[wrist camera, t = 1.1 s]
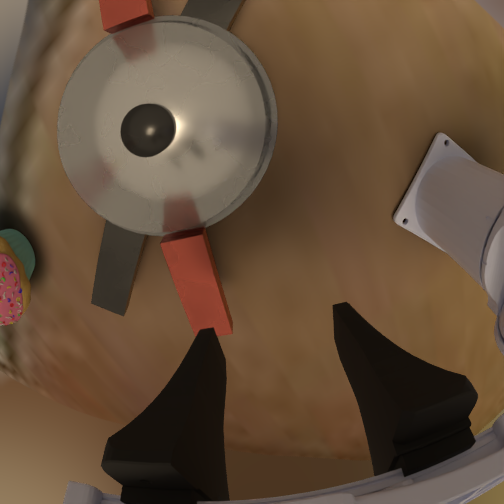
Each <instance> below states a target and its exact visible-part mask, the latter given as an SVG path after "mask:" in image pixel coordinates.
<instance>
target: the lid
mask: <svg viewBox="0 0 504 504" xmlns="http://www.w3.org/2000/svg"><path fill="white" fill-rule="evenodd" d="M99 3H100V10H101V16H102V23H103V28H104V31H107V32H109V33H111V34H114V33H116V32H119V31H121V30H124V29H127V28H129V27H132V26H135V25H138V24H140V23H143V22H146V21H149V20H152V19H155V18H154V13H153V8H152V3H151V0H99ZM265 120H266V116H265V109H264V102H263V98H262V94H261V91H260V88H259V85H258V83H257V81H256V79H255V76H254V74H253V73H252V71H251V69H250V68H249V66H248V65H247V63H246V62H245V61H244V59H243V58H242V57H241V56H240V55H239V54H238V52H237V51H236V50H234V49H233V48H232V47H231V46H230V45H229V44H228V43H226V42H225V41H224V40H222V39H220V38H219V37H217V36H216V35H214V34H212V33H210V32H208V31H205V30H203V29H201V28H198V27H194V26H191V25H187V24H180V23H172V22H165V23H151V24H145V25H141V26H137V27H134V28H131V29H128V30H125V31H123V32H121V33H119V34H117V35H115V36H113V37H111V38H110V39H108V40H107V41H105V42H103V43H102V44H101V45H100V46H98V47H97V48H96V49H95V50H94V51H92V52H91V53H90V55H89V56H88V57H87V58H86V59H85V60H84V61H83V62H82V63H81V65H80V66H79V67H78V69H77V70H76V71H75V73H74V75H73V76H72V78H71V80H70V82H69V84H68V86H67V88H66V90H65V93H64V95H63V98H62V102H61V105H60V109H59V115H58V123H57V139H58V149H59V153H60V157H61V161H62V164H63V167H64V170H65V172H66V175H67V176H68V178H69V180H70V182H71V184H72V186H73V187H74V189H75V190H76V192H77V193H78V194H79V196H80V197H81V198H82V199H83V200H84V201H85V202H86V203H87V204H88V205H89V206H90V207H91V208H92V209H93V210H94V211H96V212H97V213H98V214H100V215H101V216H103V217H104V218H106V219H108V220H110V221H112V222H113V223H115V224H117V225H120V226H123V227H126V228H129V229H133V230H137V231H142V232H152V233H160V232H172V231H179V230H183V229H186V228H190V227H193V226H195V225H198V224H200V223H202V222H205V221H206V220H208V219H210V218H212V217H213V216H215V215H217V214H218V213H219V212H221V211H222V210H223V209H225V208H226V207H227V206H228V205H229V204H230V203H231V202H232V201H233V200H234V199H235V198H236V197H237V196H238V195H239V194H240V193H241V191H242V190H243V189H244V187H245V186H246V185H247V183H248V181H249V180H250V178H251V176H252V175H253V173H254V171H255V169H256V166H257V164H258V162H259V159H260V156H261V152H262V149H263V144H264V138H265ZM160 245H161V248H162V250H163V253H164V256H165V259H166V262H167V264H168V267H169V270H170V273H171V275H172V278H173V281H174V283H175V286H176V289H177V291H178V294H179V297H180V299H181V302H182V304H183V307H184V309H185V312H186V314H187V317H188V319H189V322H190V324H191V327H192V329H193V332H194V334H195V337H196V336H197V334H198V332H199V330H200V329H206V328H212V327H214V329H215V332H216V335H217V336H222V335H228V334H233V321H232V318H231V315H230V311H229V308H228V305H227V301H226V298H225V295H224V291H223V288H222V285H221V281H220V278H219V275H218V271H217V268H216V264H215V261H214V257H213V254H212V250H211V247H210V243H209V240H208V236H207V233H206V229H205V226H203V227H198V228H193V229H188V230H184V231H179V232H175V233H170V234H166V235H164V237H163V239H162V241H161V243H160Z"/></svg>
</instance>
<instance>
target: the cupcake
mask: <svg viewBox="0 0 504 504" xmlns="http://www.w3.org/2000/svg"><path fill="white" fill-rule="evenodd" d="M34 267H35V255H34V251H33V249H32V246H31V244H30V243H29V241H28V240H27V238H26V237H25V236H24V235H23V234H22V233H20V232H19V231H17V230H14V229H5V230H1V231H0V325H1V326H2V325H8V324H12V323H14V322H17V321H18V320H19V319H20V318H21V315H22V314H23V313H24V312H25V311H26V309H27V308H28V306H29V303H30V300H31V297H30V292H31V285H30V282H29V280H30V277H31V275H32V272H33V270H34Z"/></svg>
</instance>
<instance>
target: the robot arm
mask: <svg viewBox="0 0 504 504" xmlns="http://www.w3.org/2000/svg"><path fill="white" fill-rule="evenodd" d="M445 140H446V142H447V143H446V145H444V142H445ZM405 218H406V221H405V222H404V223H403V220H404V219H405ZM393 220H394V222H395V223H396V224H398V225H399V226H401V227H403V228H405V229H407V230H408V231H410V232H412V233H414V234H415V235H417V236H419V237H421V238H422V239H424V240H426V241H427V242H429V243H431V244H432V245H434V246H436V247H437V248H439V249H441V250H442V251H444V252H446V253H447V254H448V255H449V256H450V257H451V258H453V259H454V260H455V261H456V262H457V263H458V264H459V265H460V266H461V267H462V268H463V269H464V270H465V271H466V272H467V273H468V274H469V275H470V276H471V277H472V278H473V279H474V280H475V281H476V282H477V283H478V284H479V285H480V286H481V287H482V288H483V289H484V290H485V291H486V292H487V294H488V306H489V308H490V309H491V310H492V311H493V312H494V313H495V314H496V315H497V319H496V322H495V327H494V335H495V340H496V343H497V346H498V348H499V349H500V351H501V353H502V354H503V355H504V174H502V173H499V172H497V171H495V170H493V169H490V168H488V167H486V166H483V165H481V164H478V163H477V162H476V161H475V160H474V159H473V158H472V157H471V156H470V155H469V154H467V153H466V152H465V151H464V150H463V149H462V148H461V147H460V146H458V145H457V144H456V143H455V142H454V141H453V140H451V139H450V138H449V137H448V136H447V135H445V134H444V133H437V134H436V136H435V138H434V140H433V142H432V144H431V146H430V148H429V150H428V152H427V154H426V156H425V158H424V160H423V162H422V164H421V166H420V168H419V170H418V172H417V174H416V176H415V178H414V180H413V182H412V183H411V185H410V187H409V189H408V191H407V193H406V195H405V196H404V198H403V200H402V202H401V204H400V205H399V207H398V209H397V211H396V212H395V214H394V217H393ZM333 320H334V340H335V343H336V347H337V350H338V354H339V357H340V360H341V363H342V365H343V367H344V370H345V372H346V375H347V377H348V380H349V382H350V384H351V387H352V389H353V392H354V394H355V397H356V399H357V402H358V405H359V409H360V413H361V416H362V420H363V424H364V428H365V432H366V436H367V440H368V445H369V450H370V454H371V459H372V465H373V470H374V475H375V476H374V477H371V478H368V479H364V480H361V481H357V482H353V483H349V484H345V485H341V486H336V487H332V488H327V489H323V490H317V491H312V492H307V493H300V494H294V495H287V496H280V497H272V498H262V499H251V500H237V501H230V500H229V492H228V484H227V474H226V464H225V451H224V432H223V424H224V408H225V395H226V381H227V377H226V359H225V357H224V354H223V351H222V349H221V346H220V343H219V340H218V338H217V335H216V332H215V329H214V327H212V328H206V329H200V330H199V332H198V334H197V336H196V337H195V339H194V341H193V343H192V345H191V347H190V349H189V351H188V352H187V354H186V356H185V358H184V359H183V361H182V363H181V364H180V366H179V368H178V369H177V371H176V372H175V374H174V375H173V377H172V378H171V380H170V381H169V382H168V384H167V385H166V386H165V388H164V389H163V390H162V391H161V393H160V394H159V395H158V396H157V397H156V398H155V400H154V401H153V402H152V403H151V404H150V405H149V406H148V407H147V408H146V409H145V410H144V411H143V412H142V413H141V414H140V415H138V416H137V417H136V418H135V419H134V420H133V421H131V422H130V423H129V424H128V425H126V426H125V427H124V428H122V429H121V430H120V431H118V432H117V433H115V434H114V435H112V436H111V437H109V438H108V441H107V444H106V447H105V451H104V455H103V459H102V464H101V466H102V468H103V470H104V471H105V472H106V473H107V474H108V475H110V476H111V477H112V478H113V479H115V480H116V481H117V482H119V483H120V484H122V485H123V487H122V493H121V496H119V495H112V494H107V493H102V492H101V491H100V490H98V489H97V488H96V487H93V486H91V485H87V484H83V483H78V482H74V481H69V482H68V486H67V490H66V494H65V498H64V502H63V504H466V503H468V502H469V501H471V500H473V499H475V498H476V497H478V496H480V495H481V494H483V493H485V492H486V491H488V490H490V489H491V488H493V487H494V486H496V485H497V484H499V483H501V482H502V481H504V414H502V415H501V416H500V417H499V418H498V419H497V420H496V421H495V422H494V424H493V426H492V427H491V428H489V429H487V430H485V431H483V432H482V433H480V434H478V435H476V436H473V434H472V432H471V430H470V428H469V427H470V426H471V421H470V419H469V418H468V416H469V415H470V413H471V411H472V409H473V408H474V406H475V404H476V402H477V399H478V394H477V392H476V390H475V389H474V387H473V385H472V384H471V382H470V381H469V380H468V379H467V377H466V376H464V375H461V374H457V373H454V372H451V371H447V370H444V369H442V368H439V367H437V366H434V365H432V364H429V363H427V362H425V361H423V360H421V359H419V358H417V357H415V356H413V355H411V354H410V353H408V352H406V351H405V350H403V349H402V348H400V347H399V346H397V345H396V344H394V343H393V342H391V341H390V340H389V339H387V338H386V337H385V336H383V335H382V334H381V333H380V332H379V331H377V330H376V329H375V328H374V327H373V326H372V325H370V324H369V323H368V322H367V321H366V320H365V319H364V318H363V317H362V316H361V315H360V314H359V313H358V312H357V311H356V310H355V309H354V308H353V307H352V306H351V305H350V304H349V303H347V302H343V303H339V304H335V305H333Z"/></svg>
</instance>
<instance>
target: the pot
mask: <svg viewBox="0 0 504 504" xmlns="http://www.w3.org/2000/svg"><path fill="white" fill-rule="evenodd" d="M244 2H245V0H188V2H187V4H186V6H185V8H184V10H183V11H182V13H181V15H180V16H174V15H172V16H157V17H154V18H155V19H152V20H149V21H146V22H143V23H140V24H138V25H135V26H132V27H129V28H127V29H124V30H121V31H119V32H116V33H114V34H110V35H108V36H107V37H105V38H104V39H102V40H101V41H100V42H99V43H98V44H96V45H95V46H94V47H93V48H92V49H91V50H90V51H89V52H88V53H87V54H86V56H85V57H84V58H83V59H82V60H81V62H80V63H79V64H78V66H77V67H76V69H75V70H74V72H73V74H72V75H71V77H70V79H69V81H68V83H67V85H66V88H67V86H68V84H69V82H70V80H71V78H72V76H73V75H74V73H75V71H76V70H77V69H78V67H79V66H80V65H81V63H82V62H83V61H84V60H85V59H86V58H87V57H88V56H89V55H90V53H91V52H92V51H94V50H95V49H96V48H97V47H98V46H100V45H101V44H102V43H103V42H105V41H107V40H108V39H110V38H111V37H113V36H115V35H117V34H119V33H121V32H123V31H125V30H128V29H131V28H134V27H137V26H141V25H145V24H151V23H165V22H172V23H180V24H187V25H191V26H194V27H198V28H201V29H203V30H205V31H208V32H210V33H212V34H214V35H216V36H217V37H219V38H220V39H222V40H224V41H225V42H226V43H228V44H229V45H230V46H231V47H232V48H233V49H234V50H236V51H237V52H238V54H239V55H240V56H241V57H242V58H243V59H244V61H245V62H246V63H247V65H248V66H249V68H250V69H251V71H252V73H253V74H254V76H255V79H256V81H257V83H258V85H259V88H260V91H261V94H262V98H263V102H264V109H265V116H266V120H265V138H264V144H263V149H262V152H261V156H260V159H259V162H258V164H257V166H256V169H255V171H254V173H253V175H252V176H251V178H250V180H249V181H248V183H247V185H246V186H245V187H244V189H243V190H242V191H241V193H240V194H239V195H238V196H237V197H236V198H235V199H234V200H233V201H232V202H231V203H230V204H229V205H228V206H227V207H226V208H225V209H223V210H222V211H221V212H219V213H218V214H217V215H215V216H213V217H212V218H210V219H208V220H206V221H205V222H202V223H200V224H198V225H195V226H193V227H190V228H186V229H183V230H179V231H184V230H188V229H193V228H198V227H203V226H205V228H206V227H208V226H210V225H212V224H215V223H217V222H218V221H220V220H222V219H223V218H225V217H226V216H228V215H229V214H231V213H232V212H233V211H234V210H236V209H237V208H238V207H239V206H240V205H241V204H242V203H243V202H244V201H245V200H246V199H247V198H248V197H249V196H250V195H251V194H252V192H253V191H254V190H255V188H256V187H257V185H258V184H259V183H260V181H261V179H262V177H263V175H264V174H265V172H266V170H267V168H268V165H269V163H270V160H271V157H272V155H273V151H274V147H275V142H276V136H277V126H278V123H277V107H276V101H275V95H274V92H273V89H272V86H271V83H270V80H269V78H268V76H267V74H266V72H265V70H264V68H263V66H262V65H261V63H260V62H259V60H258V59H257V57H256V56H255V55H254V53H253V52H252V51H251V50H250V49H249V48H248V47H247V46H246V45H245V44H244V43H243V42H242V41H241V40H239V39H238V38H237V37H236V36H234V35H233V34H232V33H230V32H229V30H230V28H231V26H232V24H233V22H234V20H235V19H236V17H237V15H238V13H239V11H240V9H241V7H242V6H243V4H244ZM66 88H65V90H66ZM64 93H65V91H64ZM64 93H63V95H64ZM62 98H63V96H62ZM61 102H62V100H61ZM60 105H61V104H60ZM59 109H60V108H59ZM58 115H59V113H58ZM88 206H89V205H88ZM89 207H90V206H89ZM90 208H91V207H90ZM91 209H92V208H91ZM95 212H96V211H95ZM96 213H97V212H96ZM99 215H100V214H99ZM100 216H101V215H100ZM101 217H103V216H101ZM103 218H104V217H103ZM104 219H106V218H104ZM179 231H172V232H160V233H152V232H142V231H137V230H133V229H129V228H126V227H123V226H120V225H117V224H115V223H113V222H112V221H110V220H108V219H106V224H105V229H104V233H103V238H102V243H101V248H100V253H99V258H98V263H97V269H96V275H95V281H94V287H93V294H92V301H91V303H92V304H94V305H96V306H99V307H101V308H104V309H106V310H109V311H111V312H114V313H116V314H119V315H122V316H124V315H125V313H126V310H127V308H128V306H129V301H130V297H131V293H132V289H133V285H134V282H135V278H136V274H137V270H138V267H139V263H140V259H141V256H142V252H143V249H144V245H145V242H146V239H147V235H153V236H164V235H166V234H170V233H175V232H179Z"/></svg>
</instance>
